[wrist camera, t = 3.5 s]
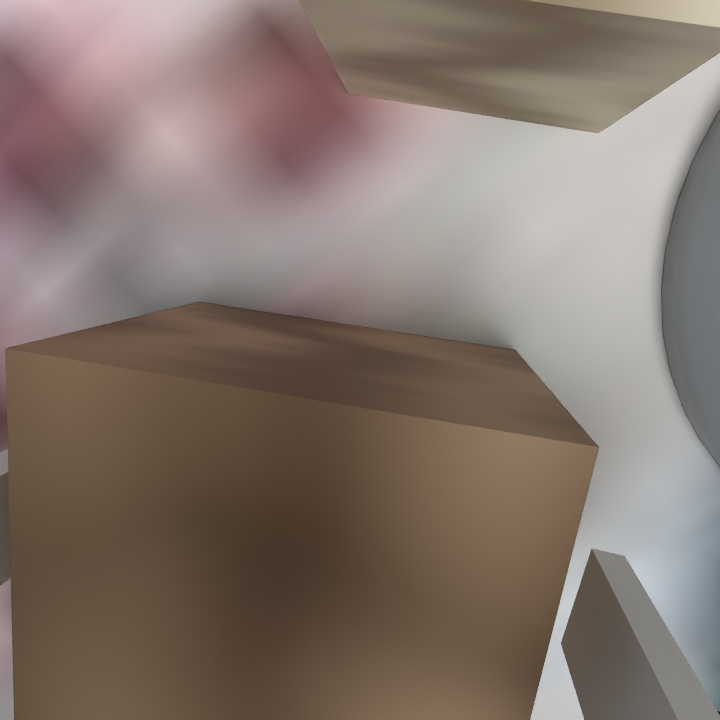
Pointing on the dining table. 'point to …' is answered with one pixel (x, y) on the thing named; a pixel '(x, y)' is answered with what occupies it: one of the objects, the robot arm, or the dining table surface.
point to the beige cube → (517, 53)
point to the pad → (696, 293)
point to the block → (283, 521)
